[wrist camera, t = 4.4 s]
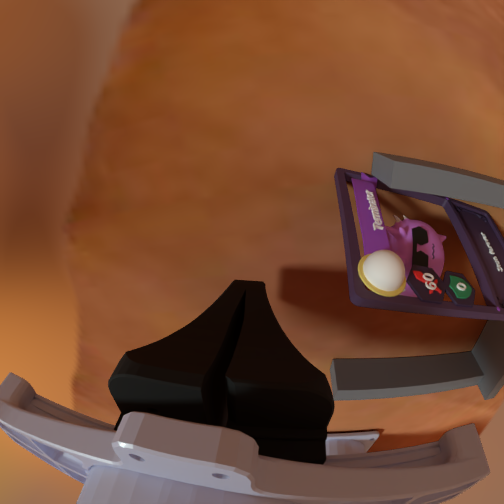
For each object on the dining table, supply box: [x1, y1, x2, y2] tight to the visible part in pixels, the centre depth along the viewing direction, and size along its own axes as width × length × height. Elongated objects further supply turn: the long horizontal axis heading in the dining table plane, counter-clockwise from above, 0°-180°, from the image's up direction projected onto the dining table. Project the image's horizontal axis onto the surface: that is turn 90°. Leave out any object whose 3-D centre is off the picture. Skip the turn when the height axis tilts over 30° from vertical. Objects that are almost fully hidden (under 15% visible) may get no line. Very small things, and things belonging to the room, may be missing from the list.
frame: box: [330, 152, 504, 400], centre depth 12 cm, size 13×12×4 cm
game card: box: [334, 168, 504, 321], centre depth 11 cm, size 7×5×9 cm
